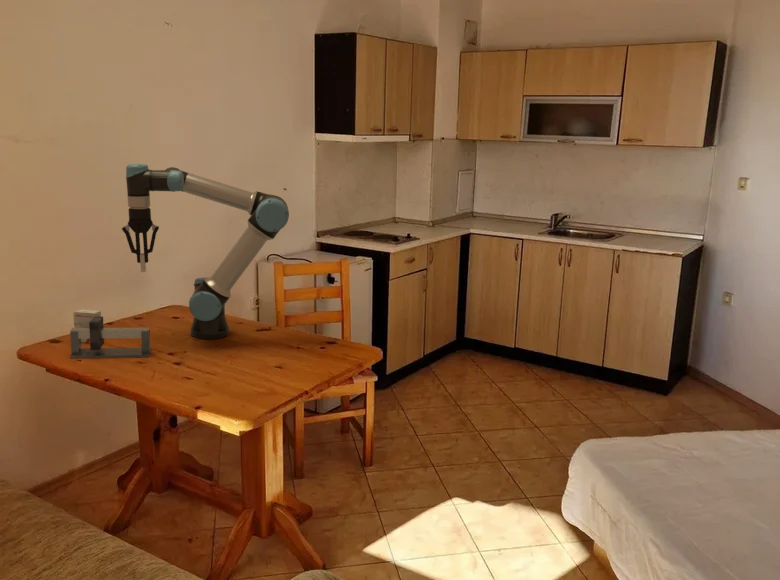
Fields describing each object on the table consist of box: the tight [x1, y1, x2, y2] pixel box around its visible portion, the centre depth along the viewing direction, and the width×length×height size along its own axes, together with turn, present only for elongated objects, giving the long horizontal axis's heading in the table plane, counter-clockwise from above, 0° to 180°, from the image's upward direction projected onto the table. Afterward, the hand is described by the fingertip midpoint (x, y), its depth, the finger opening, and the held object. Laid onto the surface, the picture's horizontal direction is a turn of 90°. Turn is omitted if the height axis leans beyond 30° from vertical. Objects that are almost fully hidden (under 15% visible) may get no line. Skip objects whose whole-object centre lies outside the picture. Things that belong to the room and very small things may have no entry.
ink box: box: [73, 308, 102, 344], centre depth 257 cm, size 9×5×12 cm, turn 84°
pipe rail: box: [69, 327, 152, 359], centre depth 244 cm, size 26×8×10 cm, turn 102°
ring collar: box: [89, 316, 105, 350], centre depth 243 cm, size 3×8×10 cm, turn 11°
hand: (143, 271), depth 252 cm, fingers closed
